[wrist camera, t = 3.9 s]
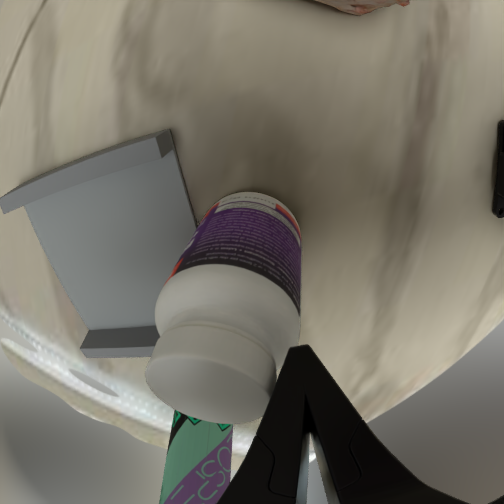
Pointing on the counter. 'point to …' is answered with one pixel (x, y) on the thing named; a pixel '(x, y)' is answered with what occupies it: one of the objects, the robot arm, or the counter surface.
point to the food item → (362, 5)
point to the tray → (113, 237)
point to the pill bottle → (229, 311)
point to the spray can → (196, 461)
